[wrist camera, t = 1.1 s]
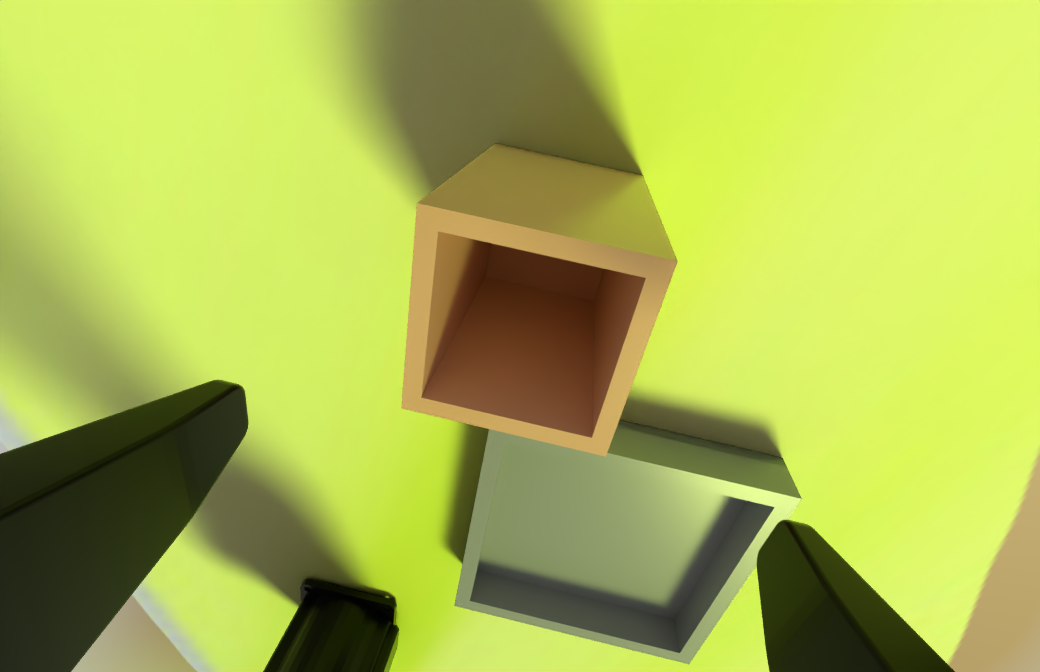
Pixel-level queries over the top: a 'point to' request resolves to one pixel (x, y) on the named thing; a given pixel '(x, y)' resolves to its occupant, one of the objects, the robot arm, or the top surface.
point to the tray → (620, 535)
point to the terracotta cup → (534, 296)
